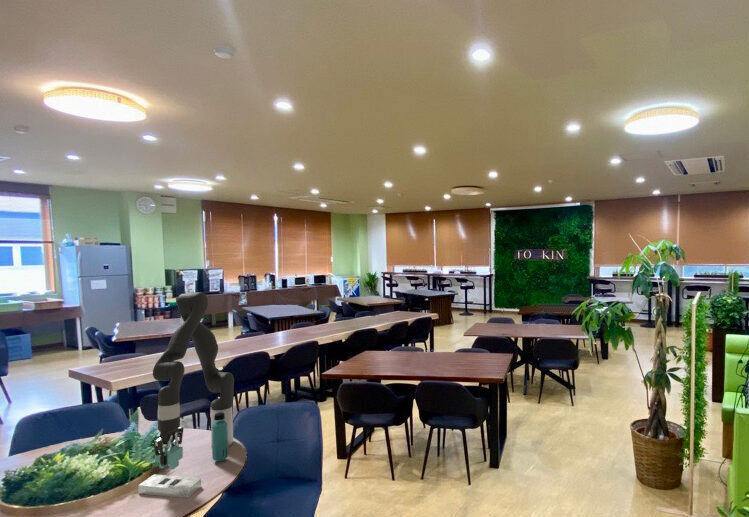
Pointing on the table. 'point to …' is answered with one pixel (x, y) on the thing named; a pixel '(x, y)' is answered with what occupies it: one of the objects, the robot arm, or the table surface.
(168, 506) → the table surface
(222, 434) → the beverage bottle
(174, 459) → the clip
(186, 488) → the pale grey flat slab
